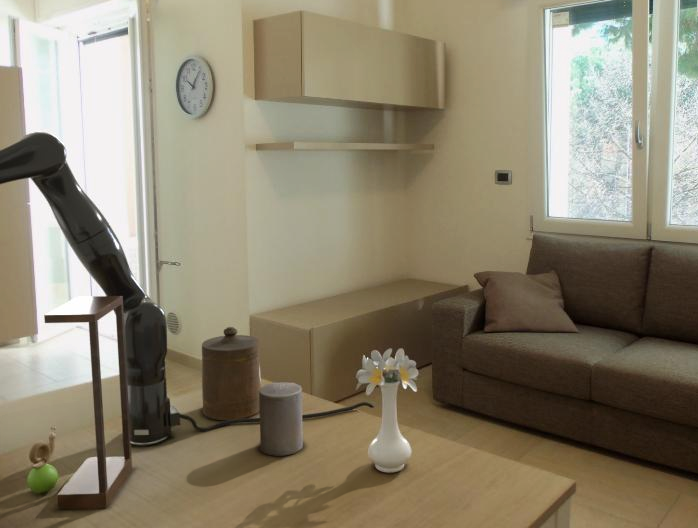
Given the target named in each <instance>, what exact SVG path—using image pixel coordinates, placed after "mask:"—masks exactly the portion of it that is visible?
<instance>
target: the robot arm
mask: <svg viewBox="0 0 698 528" xmlns="http://www.w3.org/2000/svg"><path fill="white" fill-rule="evenodd" d="M26 179H30V180H31V181H32V183H34V185H35V186H36V187H37V189H38V191H40V193H41V195H42V196H43V197H44V199H45V200H46V202H47V203H48V206H49V207H50V209H51V211H52V213H53V216H54V218H55V220H56V222H57V225H58V226H59V229H60V230H61V232H62V234H63V236H64V238H65V239H66V241H67V243H68V245H69V247H70V248H71V249H72V251H73V252H74V254H75V256H76V257H77V259H78V261H79V262H80V263H81V265H82V266H83V268H84V269H85V270H86V271H87V272H88V274H89V276H90V277H91V278H92V279H93V280H94V281H95V282H96V283H97V285H98V286H99V287H100V288H101V290H102V291H103V293H104V294H105V295H104V296H123V312H124V330H125V348H126V366H127V384H128V402H129V421H130V439H131V446H134V447H135V446H136V447H148V446H153V445H157V444H160V443H163V442H165V441H167V440H168V439H172V438H173V437H172V428H173V427H177V426H181V419H182V420H185V421H188V422H190V423H191V425H192V426H193V428H194V430H195V431H197V432H208V431H211V430H215V429H218V428H220V427H223V426H227V425H232V424H238V423H239V424H241V423H242V424H243V423H260V417H247V418H243V419H233V420H222V421H220V422H218V423H216V424H213V425H211V426H207V427H200V426H199V425H198V424H197V422H196V420H195V419H194V418H193V417H191V416H190V415H186V414H183V413H181V412H180V411H179V410H178V409H177V408H176V407H175V406H174V405H171V398H170V397H168V388H167V387H168V386H167V366H166V365H167V363H166V359H167V356H168V325H167V317H166V313H165V311H164V310H163V308H162V307H161V306H160V305H159V304H157V303H156V302H155V301H153V300H152V299H151V298H150V297H149V295H148V294H147V293H146V291H145V290H144V289H143V287H142V286H141V285H140V284H139V282H138V280H137V279H136V277H135V276H134V274H133V272H132V270H131V267H130V264H129V262H128V259H127V256H126V254H125V251H124V249H123V247H122V245H121V242H120V240H119V238H118V237H117V235H116V233H115V231H114V229H113V228H112V226H111V225H110V223H109V222H108V220H107V218H106V217H105V216H104V214H103V213H102V212H101V211H100V209H99V208H98V207H97V205H96V204H95V202H94V201H92V199H91V198H90V197H89V195H87V193H86V192H85V191H84V189H83V188H82V187H81V186H80V184H79V183H78V181H77V179H76V178H75V176H74V173H73V172H72V169H71V168H70V165H69V164H68V161H67V150H66V146H65V145H64V143H63V142H62V141H61V139H59V138H58V137H57V136H55V135H54V134H51V133H48V132H44V131H33V132H30V133H28V134H26V135H24V136H22V138H20V139H19V141H17V142H15V143H13V144H11V145H8V146H7V147H5V148H2V149H0V185H4V184H8V183H11V182H16V181H21V180H26ZM113 312H114V315H115V316H116V308H115V309H114V310H113ZM364 406H367V407H369V408H371V409H373V408H375V405H373V404H372V403H371V402H368V401H361V402H358V403H356V404H353V405H350V406H345V407H341V408H336V409H332V410H327V411H322V412H314V413H307V414H302V420H303V419H312V418H318V417H319V418H320V417H326V416H330V415H334V414H338V413H343V412H344V413H345V412H348V411H352V410H355V409H358V408H360V407H364Z"/></svg>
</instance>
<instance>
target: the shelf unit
mask: <svg viewBox="0 0 698 528" xmlns="http://www.w3.org/2000/svg"><path fill="white" fill-rule="evenodd" d="M115 308H116V315H115V323H116V325H115V326H116V341H117V358H118V375H119V391H120V392H119V393H120V412H121V430H122V448H123V456H121V455H120V456H107V453H106V437H105V421H104V405H103V388H102V373H101V372H102V371H101V356H100V355H101V354H100V338H99V320H100V319H102V318H104V317H105V316H107V315H108V314H109V313H111V312H112V311H114V309H115ZM43 316H44V317H43V318H44V319H43V320H44V324H63V323H65V324H67V323H68V324H72V323H73V324H74V323H76V324H77V323H88V333H89V334H88V335H89V350H90V366H91V378H92V379H91V381H92V383H91V384H92V397H93V412H94V413H93V414H94V416H93V417H94V429H95V430H94V431H95V446H96V448H95V449H96V456H94V457H93V456H92V457H87V458H86V459H85V460H84V462H83V463H82V464H81V465H80V467H79V468H78V469H77V470H76V471H75V473H74V474H73V475H71V477H70V478H69V480H67V482H66V483H65V484H64V486H63V487H62V488H61V490H59V491H58V493H57V494H56V500H57V501H56V502H57V510H58V511H60V510H63V511H64V510H88V509H89V510H90V509H91V510H93V509H107V508H108V507H109V505H110V504H111V502H112V500H113V499H114V498H115V496H116V494H117V493H118V492H119V490H120V488H122V485H123V484H124V482H125V481H126V479H127V478H128V476H129V475H130V473H131V472H132V470H133V462H132V460H133V459H132V445H131V439H130V421H129V402H128V384H127V366H126V348H125V330H124V312H123V296H106V295H99V296H98V295H97V296H96V295H94V296H77V297H75V298H73V299H71V300H69V301H68V302H67V301H66V303H64V304H62V305H60V306H58V307H57V308H54V309H52V310H51V311H48V312H47V313H46V314H44V315H43Z"/></svg>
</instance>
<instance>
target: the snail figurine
mask: <svg viewBox="0 0 698 528" xmlns="http://www.w3.org/2000/svg"><path fill="white" fill-rule="evenodd" d="M56 429H57V428H56V427H55V426H50V430H52V431H56ZM56 438H57V434H56V432H50V433H49V434H48V441H45V440H40V441H37V442H36V443H34V444H33V445H32V447H31V448H30V450H29V452H28V459H29V461H30V462H31V463H32V464H31V465H30V467H31V468H32V469H31V470H30V471H29V473H28V475H27V486H28V488H29V489H30V490H31V491H33V492H34V493H37V494H45V493H48V492H49V491H51V490H52V489H54V487H55V486H56V485H57V483H58V480H59V473H58V470H57V469H56V467H54V466H53V465H51V464H49V462H50V461H51V459H52V458H53V455H54V453H55V452H54V451H55V447H56Z"/></svg>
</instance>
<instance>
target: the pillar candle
mask: <svg viewBox="0 0 698 528" xmlns="http://www.w3.org/2000/svg"><path fill="white" fill-rule="evenodd" d="M259 410H260V411H259V412H258V413H259V418H260V422H259V434H260V435H259V438H260V441H259V442H260V447H259V449H260V451H261V452H262V453H263V454H266V455H268V456H275V457H283V456H288V455H293V454H296V453H298V452H299V451H301V450H302V449H303V446H304V445H303V444H304V442H303V419H302V415H303V387H302V386H301V385H299V384H296V383H295V382H285V381H284V382H283V381H282V382H272V383H268V384H266V385H262V386H261V388H260V390H259Z"/></svg>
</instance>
